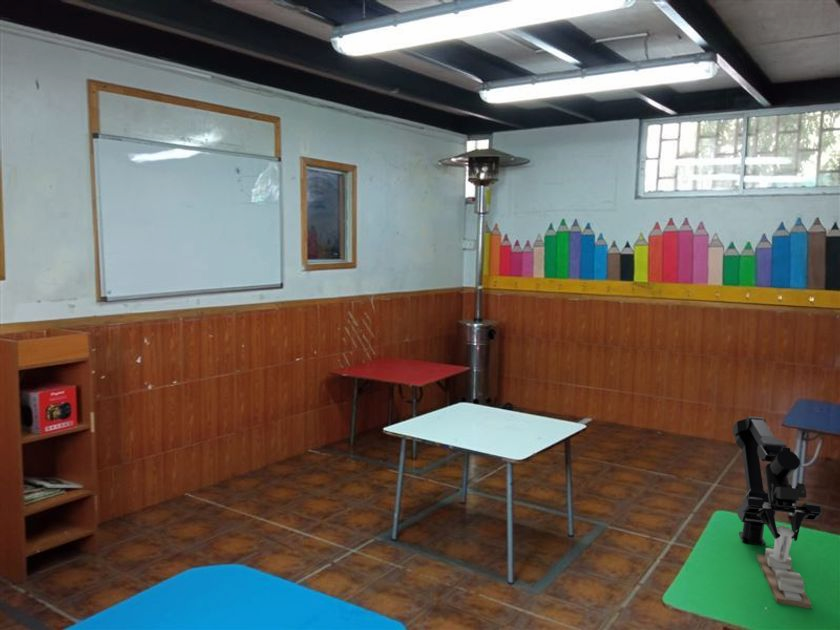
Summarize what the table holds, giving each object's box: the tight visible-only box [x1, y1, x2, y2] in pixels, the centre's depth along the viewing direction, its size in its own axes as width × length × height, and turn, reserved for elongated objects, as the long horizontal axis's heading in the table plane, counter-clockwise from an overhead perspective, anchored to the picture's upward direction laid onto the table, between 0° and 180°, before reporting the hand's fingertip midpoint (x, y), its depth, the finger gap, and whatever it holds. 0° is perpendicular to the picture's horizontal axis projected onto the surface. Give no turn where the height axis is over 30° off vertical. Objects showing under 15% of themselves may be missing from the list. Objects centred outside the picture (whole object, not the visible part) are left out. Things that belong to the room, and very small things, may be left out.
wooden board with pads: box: [756, 547, 812, 609], centre depth 184 cm, size 24×8×5 cm, turn 165°
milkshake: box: [773, 525, 797, 562], centre depth 182 cm, size 4×5×10 cm
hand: (786, 539), depth 181 cm, fingers closed on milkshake, 4 cm apart
